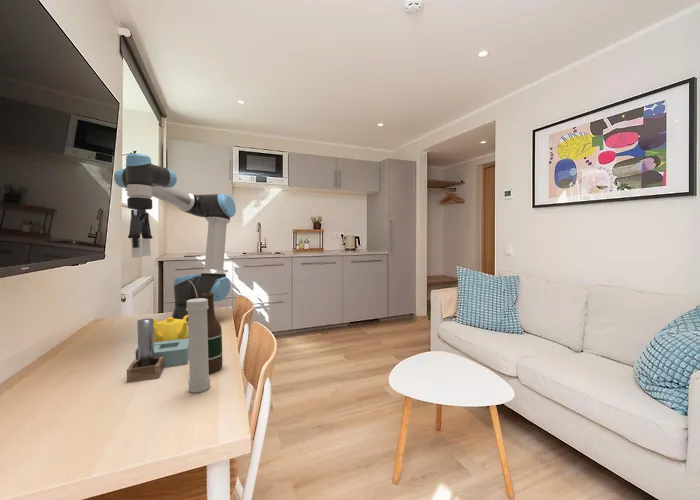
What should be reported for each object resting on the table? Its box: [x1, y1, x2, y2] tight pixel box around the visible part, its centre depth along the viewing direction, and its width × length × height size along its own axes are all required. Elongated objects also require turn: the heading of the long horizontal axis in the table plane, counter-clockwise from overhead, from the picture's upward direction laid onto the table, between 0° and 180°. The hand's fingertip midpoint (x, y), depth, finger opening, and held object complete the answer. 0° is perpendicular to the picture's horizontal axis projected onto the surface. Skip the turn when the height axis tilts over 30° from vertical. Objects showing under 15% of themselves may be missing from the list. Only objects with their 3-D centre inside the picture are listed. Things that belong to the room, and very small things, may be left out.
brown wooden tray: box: [126, 356, 165, 383], centre depth 95 cm, size 8×8×4 cm
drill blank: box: [136, 317, 154, 367], centre depth 95 cm, size 4×4×16 cm
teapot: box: [151, 315, 189, 342], centre depth 126 cm, size 15×14×10 cm
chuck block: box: [154, 338, 189, 368], centre depth 106 cm, size 12×12×5 cm
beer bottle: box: [201, 292, 223, 375], centre depth 98 cm, size 8×8×24 cm
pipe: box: [186, 281, 212, 393], centre depth 85 cm, size 6×6×30 cm
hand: (141, 256), depth 115 cm, fingers open, 13 cm apart
